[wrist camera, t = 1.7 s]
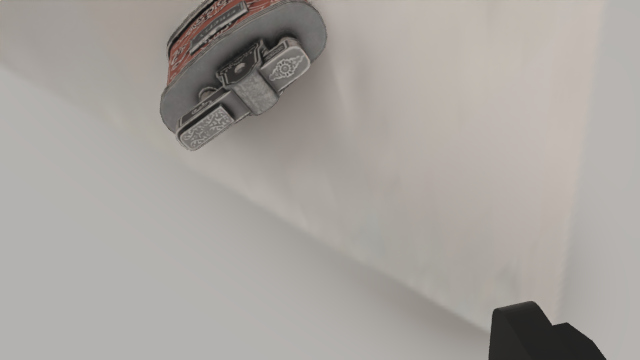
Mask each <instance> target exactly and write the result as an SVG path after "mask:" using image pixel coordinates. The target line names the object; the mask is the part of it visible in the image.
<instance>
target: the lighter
mask: <svg viewBox="0 0 640 360" xmlns="http://www.w3.org/2000/svg"><path fill="white" fill-rule="evenodd" d="M326 40H327V32H326V26H325V24H324V22H323V20H322V18H321V16H320V14H319V12H318V11H317V10H316V9H315V8H314V7H313V6H312V5H311V4H310V3H308V2H307V0H205V1H204V2H203V3H202V4H200V5H199V6H198V7H197V8H196V9H195V10H194V11H193V12H192V13H191V14H189V16H188V17H187V18H186V19H185V20H184V21H183V23H182V24H181V25H180V26H179V27H178V28H177V30H176V31H175V32H174V33H173V34H172V36H171V37H170V39H169V41H168V44H167V55H166V56H167V60H168V63H169V70H168V80H167V87H166V88H165V90H164V91H163V93H162V95H161V102H160V114H161V117H162V120H163V122H164V124H165V125H166V126H167V128H168V129H169V130H170V131H172V132H173V133H174V134H175V135H176V139H177V141H178V142H179V143H180V144H181V145H182V146H183V147H184V148H186V149H187V150H190V151H194V150H197V149H199V148H201V147H202V146H204V145H205V144H207V143H208V142H209V141H211V140H212V139H214V138H215V137H216V136H218V135H219V134H220V133H222V132H223V131H225V130H226V129H227V128H229V127H230V126H232V125H233V124H235V123H237V122H238V121H240V120H242V119H243V118H245V117H246V116H248V115H249V116H251V115H260V114H262V113H264V112H266V111H267V110H268V109H270V108H271V107H273V106H274V104H275V103H276V102H277V101H278V99H279V97H280V95H281V94H282V93H283V92H284V89H285V88H287V87H288V86H289V85H290V84H291V83H293V82H294V81H295V80H296V79H297V78H298V77H299V76H301V75H302V74H304V73H305V72H306V71H307V70H308V69H309V66H310V64H311V63H312V62H313V61H314V60H315V59H316V58H317V57H318V56H319V55H320V54H321V52H322V51H323V49H324V48H325V45H326Z"/></svg>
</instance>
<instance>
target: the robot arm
mask: <svg viewBox="0 0 640 360" xmlns="http://www.w3.org/2000/svg"><path fill="white" fill-rule="evenodd" d="M489 360H606V358H605V357H604V356H603V354H602V353H601V352H600V350H599V349H598V347H597V346H596V345H595V343H594V342H593V341H592V340H590V339H589V338H588V337H586V336H585V335H584V334H582V333H581V332H580V331H578V330H577V329H575V328H574V327H573V326H571V325H570V324H569V323H562V324H558V325H553V326H552V324H551V323H550V321H549V320H548V318H547V317H546V315H545V314H544V313H543V311H542V310H541V308H540V307H539V306H538V305H537V304H536V303H535V302H533V301H528V302H524V303H519V304H515V305H510V306H506V307H501V308H497V309H494V311H493V314H492V324H491V335H490V346H489Z"/></svg>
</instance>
